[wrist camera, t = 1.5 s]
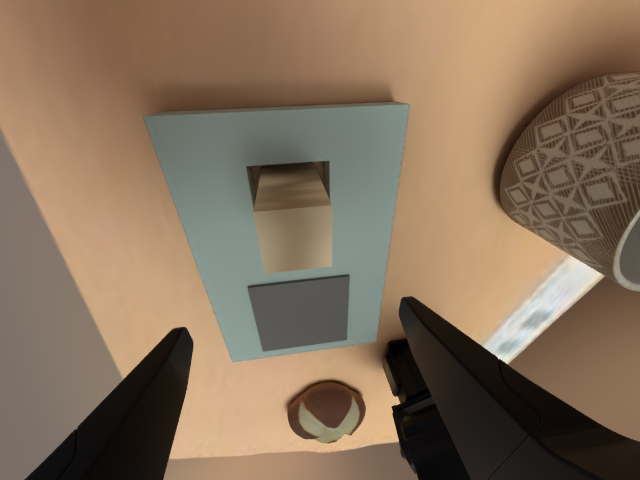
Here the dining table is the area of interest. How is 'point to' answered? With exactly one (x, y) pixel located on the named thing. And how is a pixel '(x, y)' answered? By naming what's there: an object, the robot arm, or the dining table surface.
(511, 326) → the dining table surface
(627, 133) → the planter
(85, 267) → the dining table surface
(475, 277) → the dining table surface
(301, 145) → the pocket board
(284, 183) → the maple block
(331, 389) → the bread
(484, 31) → the dining table surface
